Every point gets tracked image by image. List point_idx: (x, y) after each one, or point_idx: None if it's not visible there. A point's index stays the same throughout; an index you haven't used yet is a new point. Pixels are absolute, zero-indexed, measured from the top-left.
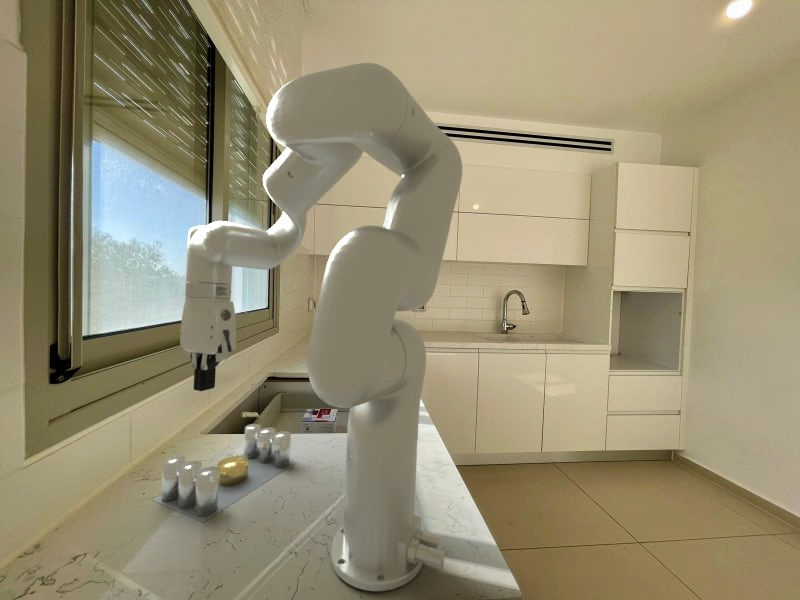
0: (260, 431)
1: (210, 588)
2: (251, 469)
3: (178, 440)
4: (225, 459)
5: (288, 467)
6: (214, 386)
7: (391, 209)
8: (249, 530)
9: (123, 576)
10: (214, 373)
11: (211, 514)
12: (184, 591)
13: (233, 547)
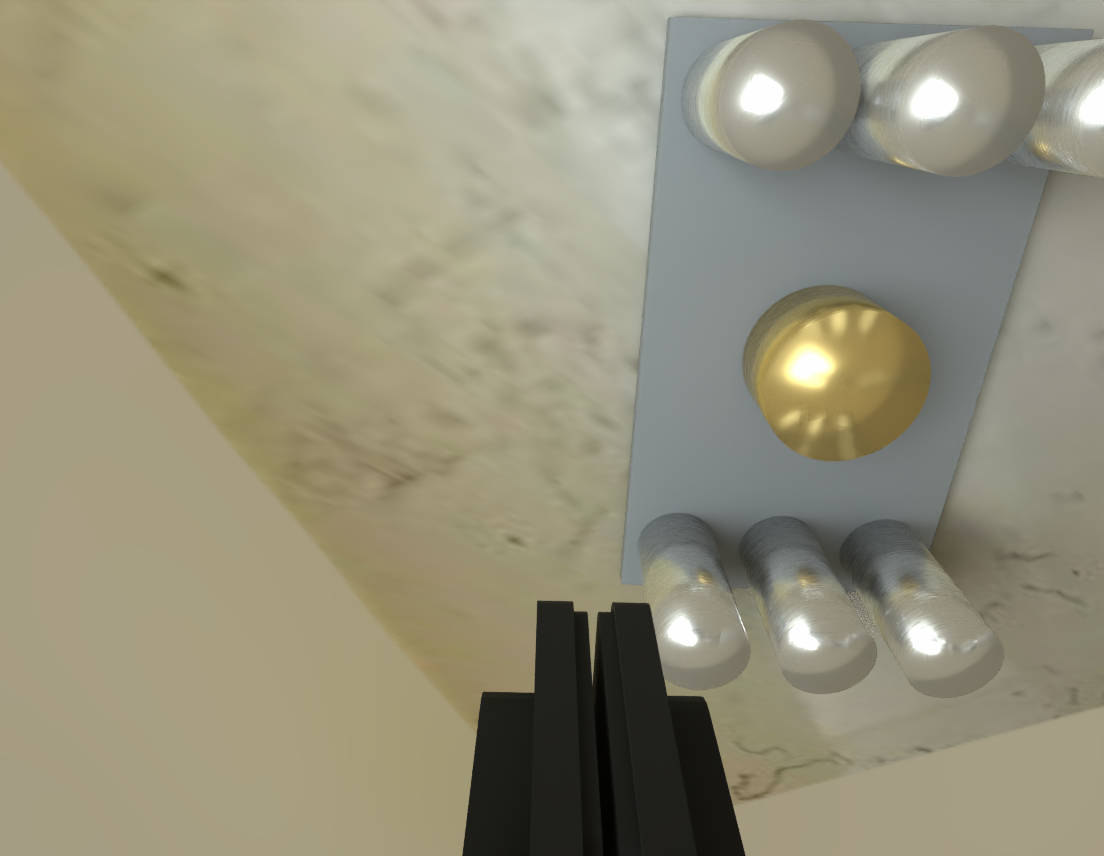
0: (927, 159)
1: (1092, 699)
2: (851, 243)
3: (34, 113)
4: (779, 384)
5: None
6: (649, 609)
7: None
8: (1080, 533)
9: (844, 742)
10: (674, 775)
11: None
12: (1031, 721)
13: (1069, 599)
